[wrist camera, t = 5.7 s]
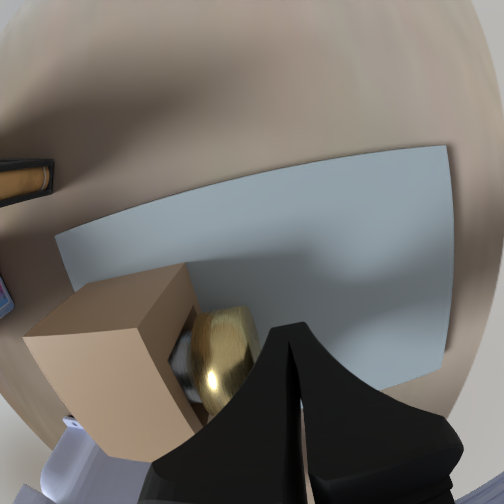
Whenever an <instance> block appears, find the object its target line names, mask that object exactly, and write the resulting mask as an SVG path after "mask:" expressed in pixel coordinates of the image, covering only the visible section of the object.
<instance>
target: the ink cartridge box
mask: <svg viewBox="0 0 504 504" xmlns="http://www.w3.org/2000/svg"><path fill="white" fill-rule="evenodd" d="M13 308H14V303H13V301H12V299H11V297H10V295H9V293H8V291H7V289H6V287H5V285H4V283H3V281H2V278H1V276H0V319H1V318H2V317H3V316H4V315H6V314H7V313H9V312H10V311H11V310H12V309H13Z"/></svg>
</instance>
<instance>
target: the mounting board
mask: <svg viewBox="0 0 504 504" xmlns="http://www.w3.org/2000/svg"><path fill="white" fill-rule="evenodd" d="M55 239H56V243H57V246H58V249H59V252H60V255H61V257H62V260H63V263H64V266H65V269H66V271H67V274H68V277H69V279H70V282H71V284H72V287H73V289H74V292H75V293H74V294H73V295H71V296H70V297H69V298H68V299H66V300H65V301H64V302H63V303H61V304H60V305H59V306H58V307H57V308H55V309H54V310H53V311H52V312H51V313H49V314H48V315H47V316H46V317H45V318H44V319H42V320H41V321H40V322H39V323H38V324H37V325H35V326H34V327H33V328H32V329H31V330H30V331H29V332H27V333H26V334H25V335H24V336H23V339H24V341H25V343H26V345H27V347H28V348H29V350H30V352H31V354H32V355H33V357H34V359H35V361H36V362H37V364H38V366H39V367H40V369H41V370H42V372H43V374H44V375H45V377H46V378H47V380H48V381H49V383H50V384H51V386H52V387H53V389H54V390H55V392H56V393H57V395H58V396H59V397H60V399H61V400H62V402H63V403H64V404H65V406H66V407H67V408H68V410H69V411H70V412H71V414H72V415H73V416H74V417H75V419H76V420H77V421H78V422H79V424H80V425H81V426H82V427H83V428H84V430H85V431H86V432H87V433H88V434H89V435H90V437H91V438H92V439H93V440H94V441H95V442H96V443H97V444H98V446H99V447H100V448H101V449H102V450H103V451H104V452H105V453H106V454H107V455H108V456H111V457H116V458H122V459H128V460H134V461H141V462H149V463H152V462H153V461H155V460H157V459H158V458H160V457H162V456H163V455H165V454H167V453H168V452H170V451H172V450H173V449H175V448H177V447H178V446H180V445H181V444H183V443H184V442H185V441H187V440H188V439H189V438H191V437H192V436H193V435H195V434H196V433H197V432H198V431H199V430H201V429H202V428H203V427H204V426H205V425H207V424H208V423H209V422H210V421H211V420H212V419H213V418H214V417H213V416H212V415H210V414H209V412H208V411H207V410H206V408H205V407H204V405H203V403H192V404H190V403H189V402H188V400H187V398H186V396H185V394H184V392H183V391H182V389H181V387H180V385H179V383H178V381H177V379H176V377H175V375H174V373H173V371H172V369H171V367H170V365H169V363H168V361H167V360H168V358H169V356H170V354H171V351H172V349H173V347H174V345H175V343H176V341H177V338H178V336H179V334H180V332H184V331H192V329H193V324H194V321H195V319H196V317H197V316H198V315H199V314H200V313H203V312H209V311H215V310H221V309H227V308H232V307H238V306H243V305H246V306H247V307H248V308H249V310H250V312H251V314H252V316H253V319H254V322H255V325H256V329H257V333H258V337H259V341H260V345H261V350H262V348H263V346H264V343H265V341H266V338H267V336H268V333H269V330H270V329H271V328H272V327H277V326H282V325H288V324H293V323H297V322H302V321H304V322H305V323H307V325H308V327H309V328H310V330H311V331H312V333H313V334H314V336H315V337H316V338H317V339H318V341H319V342H320V343H321V344H322V345H323V346H324V347H325V348H326V350H327V351H328V352H329V353H330V354H331V355H332V356H333V357H334V358H335V359H336V360H337V361H338V362H340V363H341V364H342V365H343V366H344V367H345V368H346V369H348V370H349V371H350V372H351V373H353V374H354V375H355V376H357V377H358V378H359V379H361V380H362V381H364V382H365V383H367V384H368V385H370V386H371V387H373V388H375V389H376V390H378V391H379V390H382V389H385V388H388V387H391V386H395V385H398V384H401V383H403V382H406V381H409V380H412V379H415V378H417V377H420V376H423V375H425V374H428V373H431V372H433V371H436V370H438V369H440V368H441V364H442V359H443V354H444V349H445V343H446V337H447V331H448V324H449V317H450V308H451V298H452V286H453V270H454V216H453V200H452V188H451V178H450V170H449V162H448V155H447V149H446V145H438V146H423V147H413V148H404V149H395V150H387V151H379V152H372V153H365V154H358V155H351V156H345V157H339V158H333V159H327V160H321V161H316V162H310V163H305V164H300V165H294V166H289V167H284V168H280V169H275V170H270V171H266V172H261V173H257V174H252V175H248V176H244V177H239V178H235V179H231V180H227V181H223V182H219V183H215V184H211V185H207V186H203V187H200V188H196V189H192V190H189V191H185V192H181V193H178V194H174V195H171V196H168V197H164V198H161V199H157V200H154V201H151V202H148V203H144V204H141V205H138V206H135V207H132V208H129V209H126V210H122V211H119V212H116V213H114V214H111V215H108V216H105V217H102V218H99V219H96V220H93V221H91V222H88V223H85V224H82V225H80V226H77V227H74V228H72V229H69V230H66V231H64V232H62V233H60V234H57V235H55ZM301 409H303V405H302V401H301Z"/></svg>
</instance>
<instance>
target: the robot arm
mask: <svg viewBox="0 0 504 504" xmlns="http://www.w3.org/2000/svg"><path fill="white" fill-rule="evenodd" d="M301 401H302V405H303V413H304V423H305V434H306V447H307V461H308V475H309V479H310V483H311V488H312V492H313V496H314V501H315V504H504V472H502V473H501V474H499V475H498V476H496V477H495V478H493V479H492V480H490V481H488V482H487V483H485V484H484V485H482V486H481V487H479V488H477V489H476V490H474V491H472V492H470V493H469V494H467V495H465V496H463V497H461V498H460V499H458V500H456V501H454V499H453V496H452V494H451V491H450V489H452V487H453V484H452V481H451V479H450V476H449V475H450V473H451V472H452V470H453V469H454V467H455V466H456V465H457V463H458V462H459V460H460V458H461V456H462V454H463V451H464V447H463V444H462V442H461V440H460V438H459V437H458V435H457V433H456V432H455V430H454V429H453V428H452V427H451V425H450V424H449V423H448V421H447V420H446V419H445V418H444V417H443V416H440V415H437V414H434V413H430V412H427V411H424V410H420V409H417V408H414V407H411V406H409V405H406V404H404V403H402V402H399V401H397V400H395V399H393V398H391V397H390V396H388V395H386V394H384V393H382V392H380V391H378V390H376V389H375V388H373V387H371V386H370V385H368V384H367V383H365V382H364V381H362V380H361V379H359V378H358V377H357V376H355V375H354V374H353V373H351V372H350V371H349V370H348V369H346V368H345V367H344V366H343V365H342V364H341V363H340V362H338V361H337V360H336V359H335V358H334V357H333V356H332V355H331V354H330V353H329V352H328V351H327V350H326V348H325V347H324V346H323V345H322V344H321V343H320V342H319V341H318V339H317V338H316V337H315V336H314V334H313V333H312V331H311V330H310V328H309V327H308V325H307V323H305V322H304V321H302V322H297V323H293V324H288V325H282V326H277V327H272V328H271V329H270V330H269V333H268V336H267V338H266V341H265V343H264V346H263V348H262V350H261V352H260V354H259V356H258V358H257V360H256V362H255V364H254V366H253V367H252V369H251V371H250V372H249V374H248V376H247V377H246V379H245V380H244V382H243V383H242V385H241V386H240V388H239V389H238V390H237V392H236V393H235V394H234V396H233V397H232V398H231V399H230V401H229V402H228V403H227V404H226V405H225V406H224V407H223V408H222V410H221V411H220V412H219V413H218V414H217V415H216V416H215V417H214V418H213V419H212V420H211V421H210V422H209V423H208V424H207V425H205V426H204V427H203V428H202V429H201V430H199V431H198V432H197V433H196V434H195V435H193V436H192V437H191V438H189V439H188V440H187V441H185V442H184V443H183V444H181V445H180V446H178V447H177V448H175V449H173V450H172V451H170V452H168V453H167V454H165V455H163V456H162V457H160V458H158V459H157V460H155V461H153V462H152V463H149V462H141V461H134V460H128V459H122V458H116V457H111V456H108V455H107V454H106V453H105V452H104V451H103V450H102V449H101V448H100V447H99V446H98V444H97V443H96V442H95V441H94V440H93V439H92V438H91V437H90V435H89V434H88V433H87V432H86V431H85V430H84V428H83V427H82V426H81V425H80V424H79V422H78V421H77V420H76V419H75V418H72V417H67V416H65V417H64V418H63V421H64V423H65V424H66V425H67V426H68V427H67V428H66V430H65V432H64V433H63V435H62V437H61V438H60V440H59V442H58V443H57V445H56V447H55V448H54V450H53V452H52V453H51V455H50V457H49V459H48V460H47V462H46V464H45V465H44V467H43V470H42V473H41V480H40V481H41V489H42V492H43V494H42V493H40V492H38V491H37V490H35V489H33V488H31V487H30V486H28V485H26V484H23V486H22V487H21V489H20V491H19V493H18V495H17V497H16V498H15V500H14V502H13V504H308V503H307V493H306V484H305V474H304V465H303V456H302V445H301Z"/></svg>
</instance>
